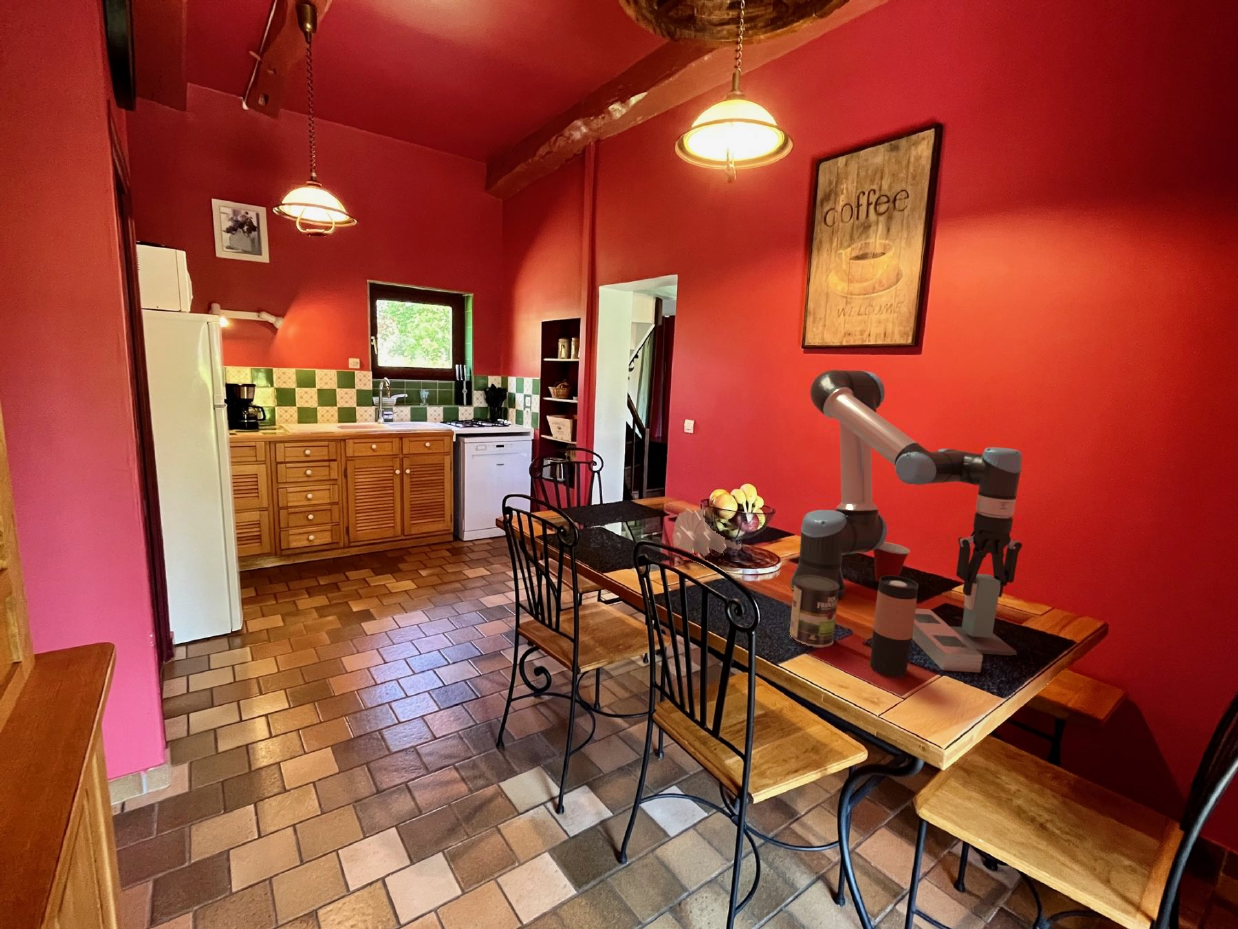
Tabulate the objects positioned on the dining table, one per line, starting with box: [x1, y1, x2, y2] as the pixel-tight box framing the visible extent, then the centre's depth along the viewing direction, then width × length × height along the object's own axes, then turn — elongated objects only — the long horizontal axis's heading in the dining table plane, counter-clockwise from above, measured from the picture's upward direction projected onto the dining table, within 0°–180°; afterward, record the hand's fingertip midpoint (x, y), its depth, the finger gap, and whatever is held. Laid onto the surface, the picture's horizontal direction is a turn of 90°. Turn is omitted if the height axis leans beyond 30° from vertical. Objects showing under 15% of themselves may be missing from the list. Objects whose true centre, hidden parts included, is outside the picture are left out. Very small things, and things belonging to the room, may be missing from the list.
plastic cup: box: [873, 541, 911, 583], centre depth 175 cm, size 11×11×12 cm
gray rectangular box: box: [961, 573, 1000, 638], centre depth 136 cm, size 5×5×14 cm
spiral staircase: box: [671, 506, 742, 557], centre depth 192 cm, size 18×18×25 cm
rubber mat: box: [950, 626, 1018, 656], centre depth 138 cm, size 12×12×1 cm
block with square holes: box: [912, 608, 984, 673], centre depth 135 cm, size 8×24×4 cm, turn 177°
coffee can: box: [789, 575, 840, 649], centre depth 136 cm, size 10×10×14 cm
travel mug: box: [869, 575, 919, 678], centre depth 122 cm, size 8×8×20 cm
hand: (980, 608), depth 137 cm, fingers closed on gray rectangular box, 5 cm apart
